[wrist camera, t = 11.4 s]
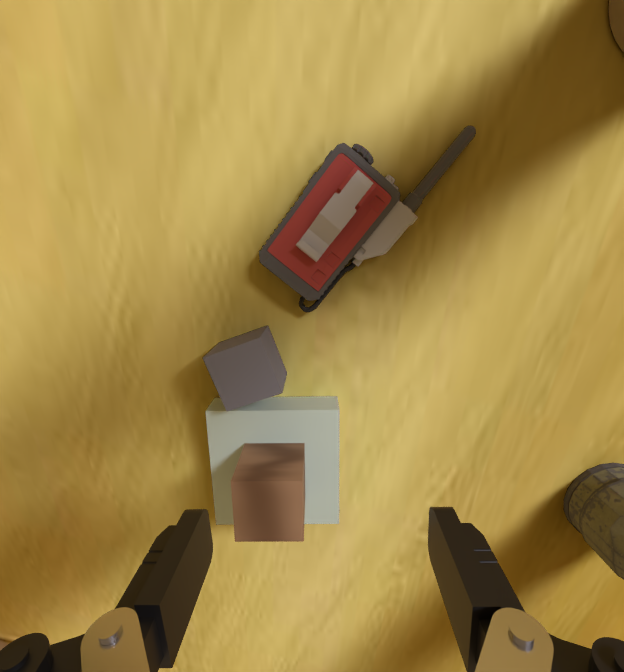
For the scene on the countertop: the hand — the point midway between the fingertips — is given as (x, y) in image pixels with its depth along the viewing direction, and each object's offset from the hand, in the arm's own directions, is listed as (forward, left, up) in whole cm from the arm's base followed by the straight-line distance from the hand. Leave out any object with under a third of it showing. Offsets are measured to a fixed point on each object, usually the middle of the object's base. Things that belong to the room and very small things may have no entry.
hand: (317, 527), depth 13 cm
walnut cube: (+4, +10, -18) cm, 21 cm away
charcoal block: (+6, 0, -22) cm, 22 cm away
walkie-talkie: (-4, -13, -22) cm, 26 cm away
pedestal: (+4, +10, -21) cm, 24 cm away
